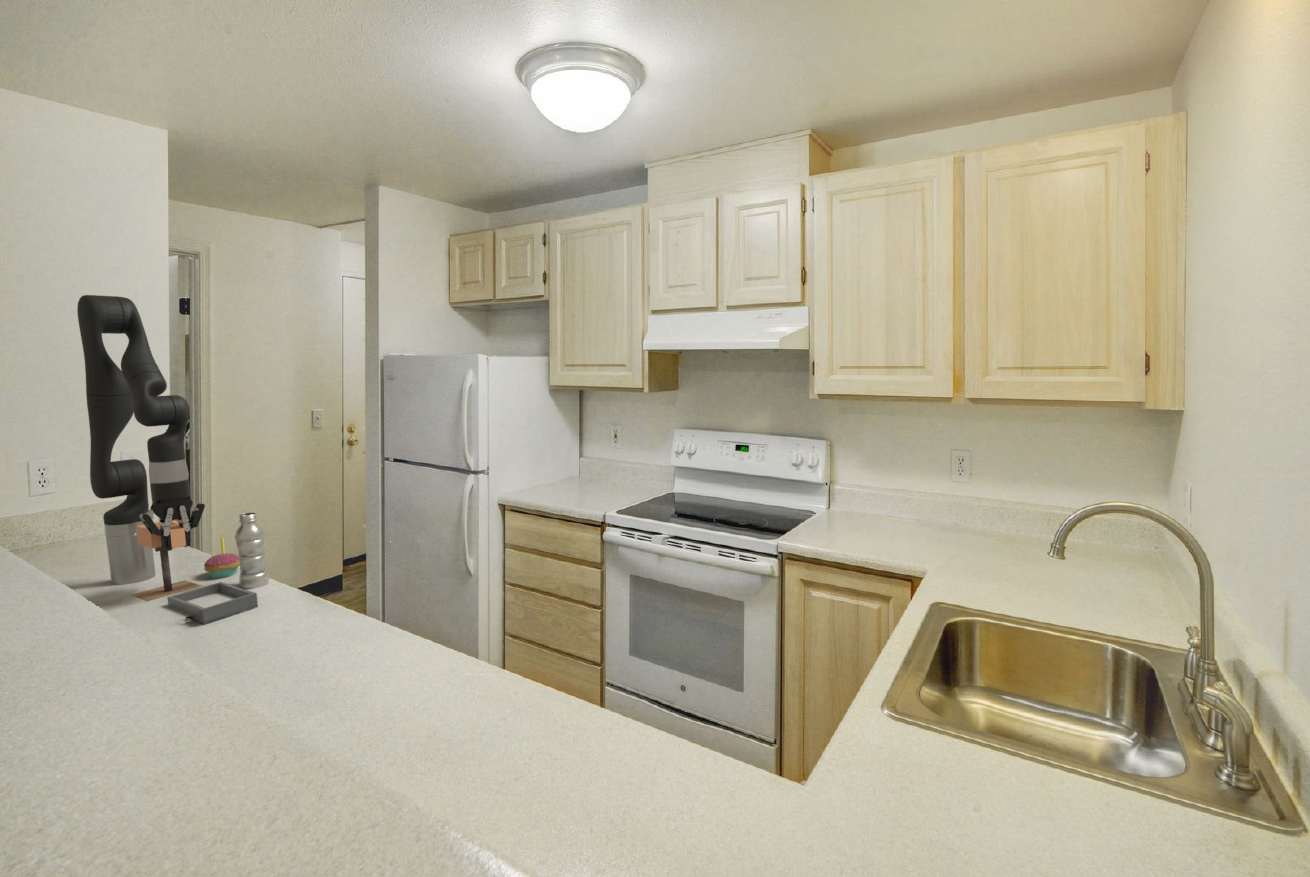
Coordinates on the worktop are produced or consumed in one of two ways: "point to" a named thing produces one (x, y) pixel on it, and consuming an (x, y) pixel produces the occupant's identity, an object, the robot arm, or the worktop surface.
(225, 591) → the tray
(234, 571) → the cupcake
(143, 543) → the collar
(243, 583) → the plastic bottle
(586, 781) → the worktop surface
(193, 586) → the stake stand
